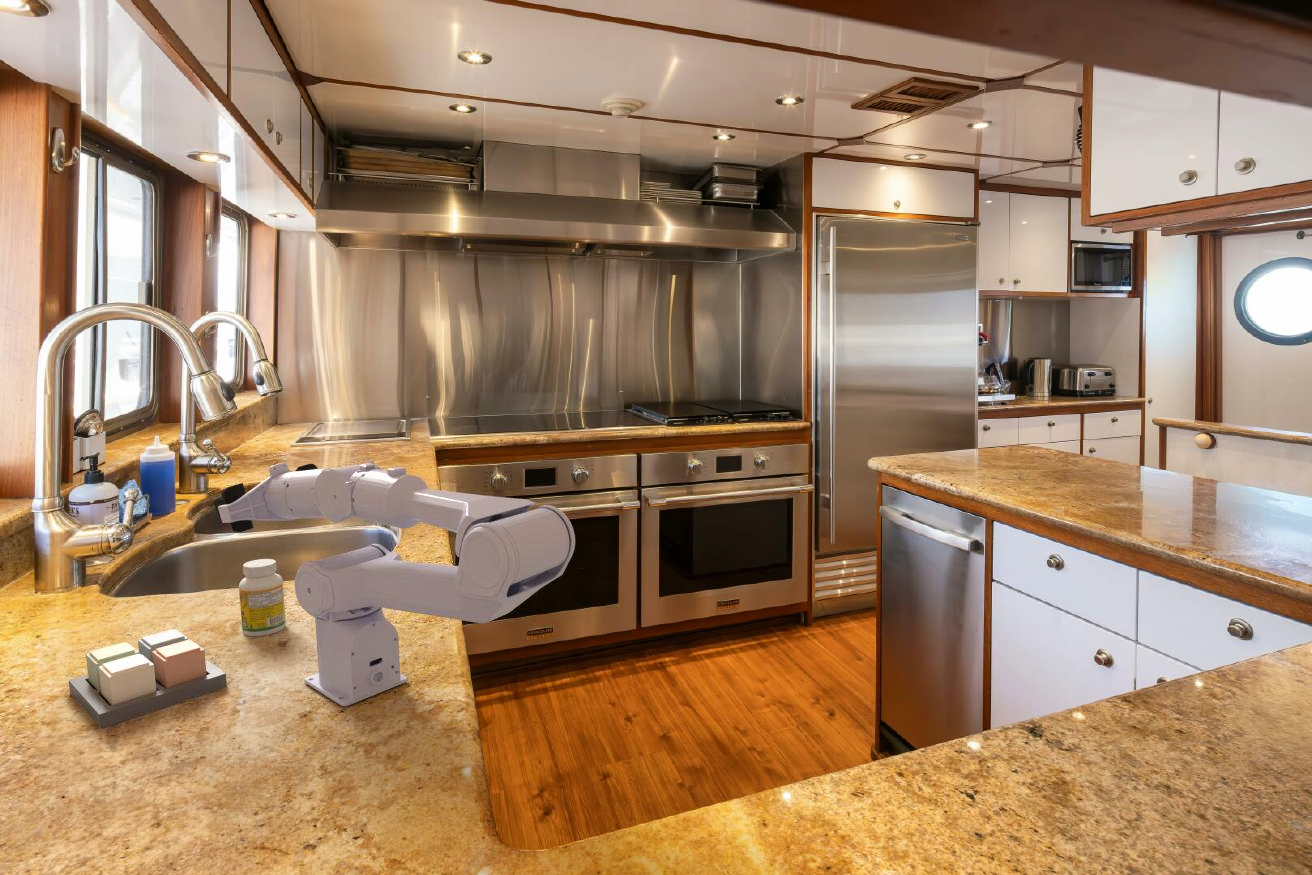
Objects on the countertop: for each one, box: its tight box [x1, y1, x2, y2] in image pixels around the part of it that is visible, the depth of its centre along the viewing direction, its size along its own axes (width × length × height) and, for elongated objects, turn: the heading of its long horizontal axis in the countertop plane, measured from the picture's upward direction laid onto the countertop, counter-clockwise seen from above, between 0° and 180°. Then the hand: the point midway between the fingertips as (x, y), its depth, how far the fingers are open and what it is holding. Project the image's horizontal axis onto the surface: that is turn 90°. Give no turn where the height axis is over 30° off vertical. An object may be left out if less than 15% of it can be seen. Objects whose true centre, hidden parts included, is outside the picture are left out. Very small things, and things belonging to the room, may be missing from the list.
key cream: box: [99, 654, 156, 706], centre depth 79 cm, size 4×4×4 cm
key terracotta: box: [152, 639, 207, 688], centre depth 83 cm, size 4×4×4 cm
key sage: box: [85, 641, 139, 691], centre depth 82 cm, size 4×4×4 cm
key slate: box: [137, 628, 190, 663], centre depth 86 cm, size 4×4×4 cm
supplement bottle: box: [238, 558, 287, 637], centre depth 100 cm, size 5×5×10 cm
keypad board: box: [68, 658, 228, 730], centre depth 83 cm, size 12×12×2 cm
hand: (248, 498), depth 94 cm, fingers open, 7 cm apart
